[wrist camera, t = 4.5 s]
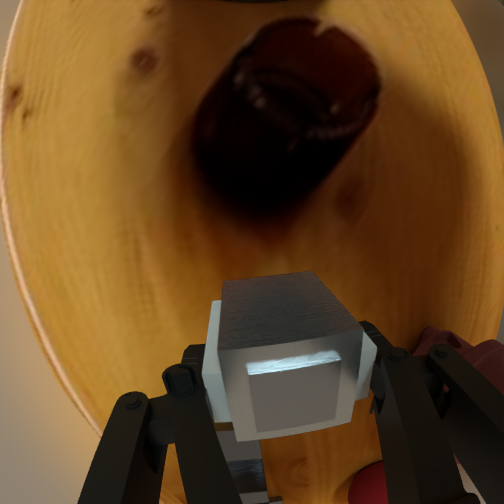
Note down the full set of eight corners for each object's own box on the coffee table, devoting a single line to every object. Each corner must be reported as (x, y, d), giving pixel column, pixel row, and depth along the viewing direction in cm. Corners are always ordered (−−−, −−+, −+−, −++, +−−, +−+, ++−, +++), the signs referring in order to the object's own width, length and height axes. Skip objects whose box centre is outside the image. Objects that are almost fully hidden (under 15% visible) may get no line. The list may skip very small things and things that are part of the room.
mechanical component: (463, 350, 22) (395, 410, 23) (447, 286, 20) (363, 359, 20) (533, 407, 10) (450, 489, 11) (550, 342, 8) (442, 464, 8)
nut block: (223, 281, 15) (216, 356, 8) (311, 270, 16) (367, 332, 8) (234, 355, 16) (237, 446, 9) (312, 344, 17) (352, 426, 10)
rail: (186, 393, 20) (180, 432, 15) (274, 385, 20) (283, 424, 16) (230, 506, 25) (231, 531, 20) (281, 501, 25) (286, 526, 21)
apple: (410, 455, 26) (438, 500, 16) (362, 489, 27) (382, 535, 17) (382, 445, 24) (414, 502, 14) (326, 483, 25) (346, 540, 15)
